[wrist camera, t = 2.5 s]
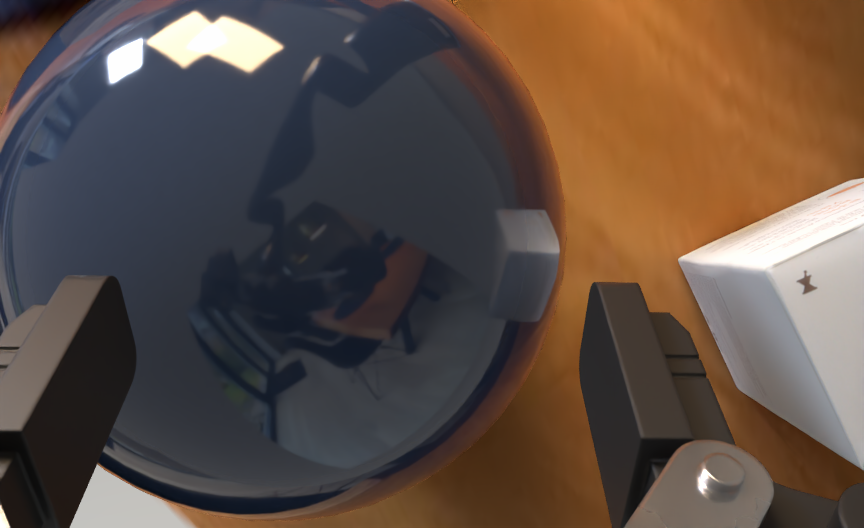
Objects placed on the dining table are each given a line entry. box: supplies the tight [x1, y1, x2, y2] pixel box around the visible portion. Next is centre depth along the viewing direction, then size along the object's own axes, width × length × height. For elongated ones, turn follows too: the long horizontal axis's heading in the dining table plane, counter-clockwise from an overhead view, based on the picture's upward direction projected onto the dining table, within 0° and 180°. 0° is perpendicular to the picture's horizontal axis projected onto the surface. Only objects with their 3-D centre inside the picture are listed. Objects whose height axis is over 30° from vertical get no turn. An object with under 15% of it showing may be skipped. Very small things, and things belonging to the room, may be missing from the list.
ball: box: [0, 0, 567, 521], centre depth 27 cm, size 18×18×19 cm
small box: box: [678, 178, 864, 471], centre depth 28 cm, size 8×6×13 cm
